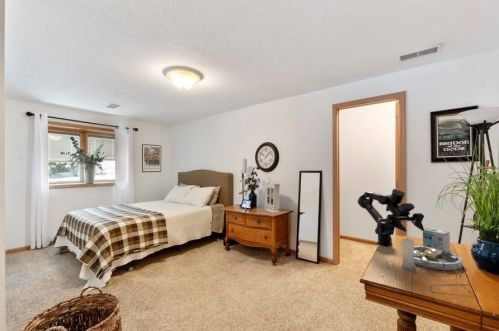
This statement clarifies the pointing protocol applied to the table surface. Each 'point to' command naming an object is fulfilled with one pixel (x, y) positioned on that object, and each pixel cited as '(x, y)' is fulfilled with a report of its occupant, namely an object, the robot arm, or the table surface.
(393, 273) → the table surface
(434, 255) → the carrier plate
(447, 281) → the table surface
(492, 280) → the table surface
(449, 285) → the eyeglasses
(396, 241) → the table surface
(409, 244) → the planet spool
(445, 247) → the light bulb box
